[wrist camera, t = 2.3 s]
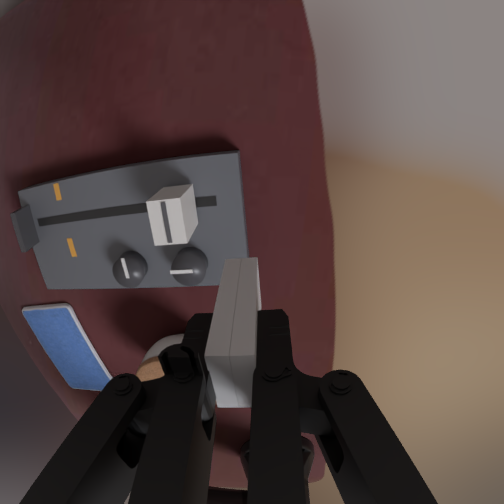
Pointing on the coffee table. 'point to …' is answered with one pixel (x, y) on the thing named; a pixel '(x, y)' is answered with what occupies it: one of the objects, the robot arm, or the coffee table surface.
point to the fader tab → (172, 215)
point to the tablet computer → (67, 345)
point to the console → (133, 224)
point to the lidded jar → (156, 358)
